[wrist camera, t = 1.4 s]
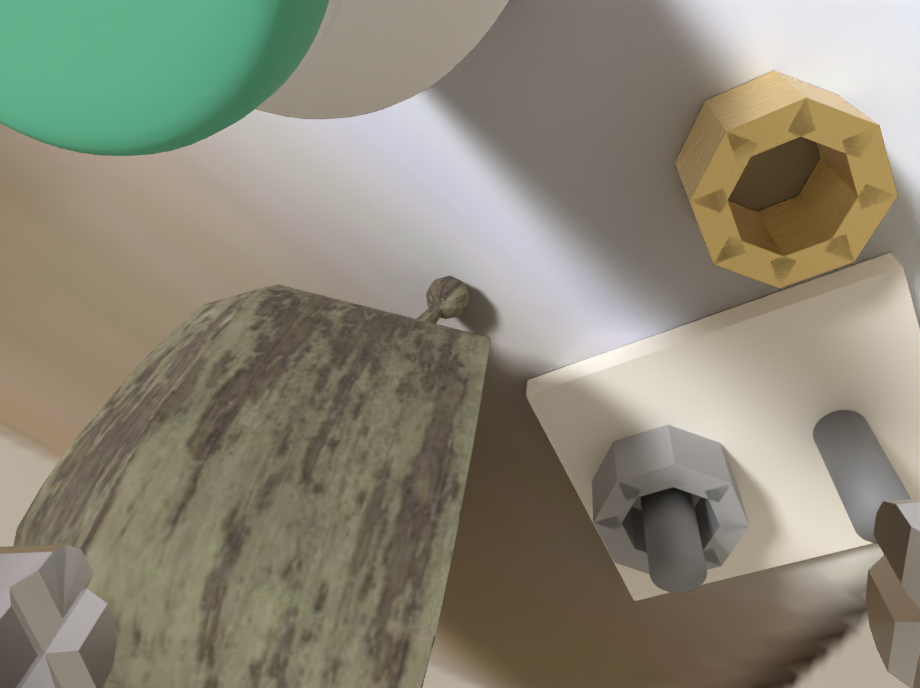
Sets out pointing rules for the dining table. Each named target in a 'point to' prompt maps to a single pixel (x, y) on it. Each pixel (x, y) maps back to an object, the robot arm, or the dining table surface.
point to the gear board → (746, 431)
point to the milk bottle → (217, 64)
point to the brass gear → (820, 201)
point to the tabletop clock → (276, 493)
